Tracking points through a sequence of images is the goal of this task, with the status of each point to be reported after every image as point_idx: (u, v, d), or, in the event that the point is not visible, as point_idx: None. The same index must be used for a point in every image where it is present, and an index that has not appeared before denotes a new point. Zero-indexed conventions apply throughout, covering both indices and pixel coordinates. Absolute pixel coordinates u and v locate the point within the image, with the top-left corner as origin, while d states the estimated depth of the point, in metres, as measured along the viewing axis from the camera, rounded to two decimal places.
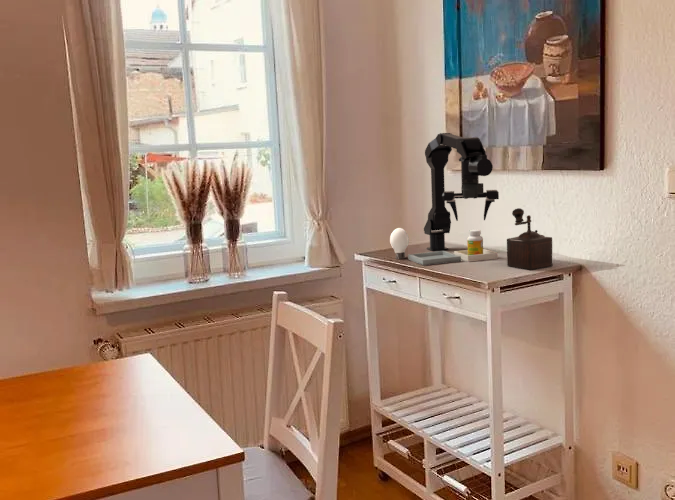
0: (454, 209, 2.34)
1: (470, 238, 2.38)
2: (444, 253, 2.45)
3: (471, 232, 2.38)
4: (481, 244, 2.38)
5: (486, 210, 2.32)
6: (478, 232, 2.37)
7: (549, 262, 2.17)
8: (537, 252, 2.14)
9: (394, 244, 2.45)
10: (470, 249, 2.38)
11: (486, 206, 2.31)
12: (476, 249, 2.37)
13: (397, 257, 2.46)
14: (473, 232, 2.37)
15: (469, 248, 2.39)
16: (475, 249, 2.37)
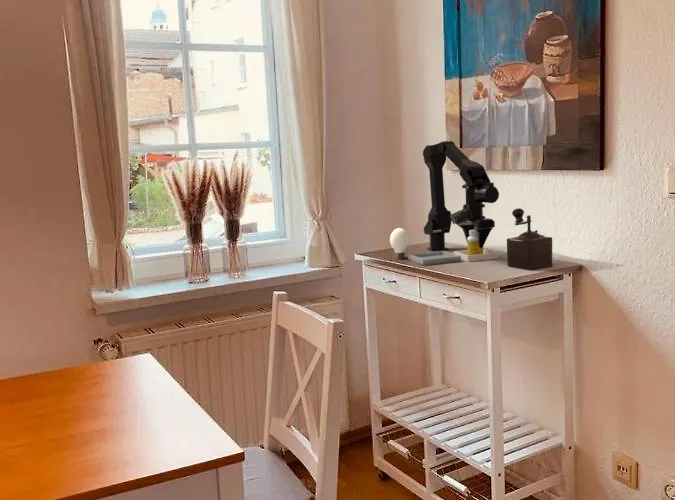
0: (464, 232, 2.44)
1: (470, 238, 2.38)
2: (444, 253, 2.45)
3: (471, 232, 2.38)
4: None
5: (478, 238, 2.34)
6: None
7: (549, 262, 2.17)
8: (537, 252, 2.14)
9: (394, 244, 2.45)
10: (470, 249, 2.38)
11: (478, 234, 2.34)
12: (476, 249, 2.37)
13: (397, 257, 2.46)
14: (473, 232, 2.37)
15: (469, 248, 2.39)
16: (475, 249, 2.37)
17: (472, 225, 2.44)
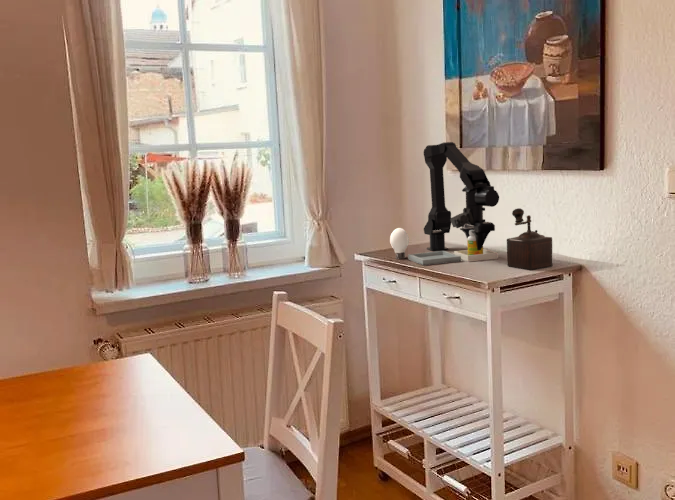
0: (467, 236, 2.42)
1: (470, 238, 2.38)
2: (444, 253, 2.45)
3: (471, 232, 2.38)
4: None
5: (476, 241, 2.36)
6: None
7: (549, 262, 2.17)
8: (537, 252, 2.14)
9: (394, 244, 2.45)
10: (470, 249, 2.38)
11: None
12: (476, 249, 2.37)
13: (397, 257, 2.46)
14: None
15: (469, 248, 2.39)
16: (475, 249, 2.37)
17: None
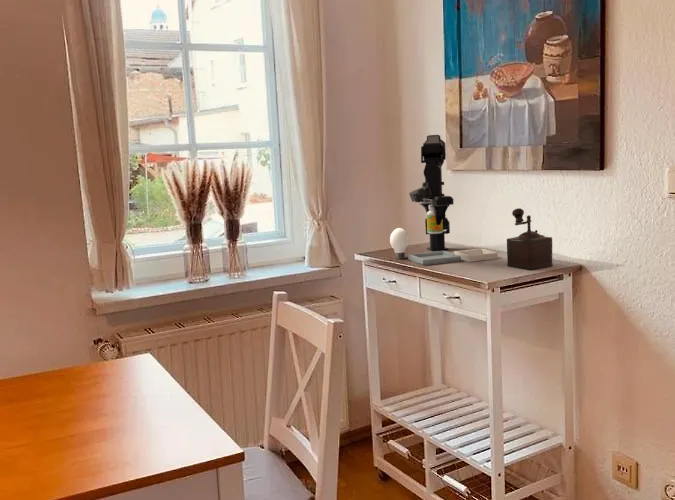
0: (426, 211, 2.40)
1: (429, 213, 2.35)
2: (444, 253, 2.45)
3: (430, 207, 2.35)
4: None
5: (435, 215, 2.33)
6: None
7: (549, 262, 2.17)
8: (537, 252, 2.14)
9: (394, 244, 2.45)
10: (430, 224, 2.36)
11: (434, 211, 2.33)
12: (436, 224, 2.35)
13: (397, 257, 2.46)
14: None
15: (428, 223, 2.36)
16: (435, 223, 2.35)
17: None
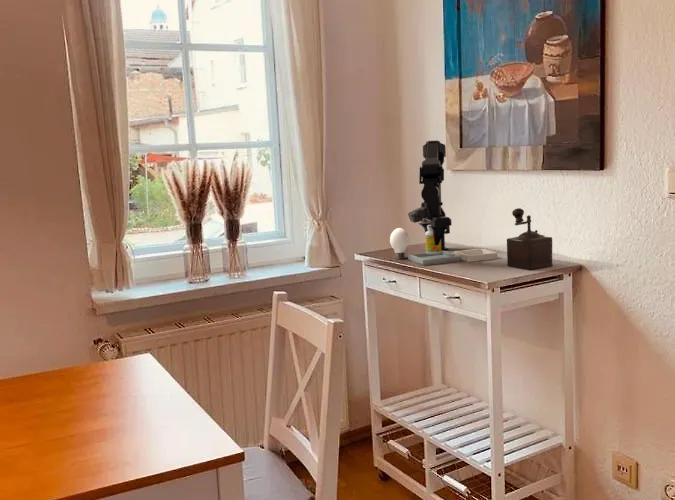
0: (425, 231, 2.41)
1: (428, 233, 2.37)
2: (444, 253, 2.45)
3: (429, 227, 2.37)
4: None
5: (434, 235, 2.35)
6: None
7: (549, 262, 2.17)
8: (537, 252, 2.14)
9: (394, 244, 2.45)
10: (428, 244, 2.37)
11: (433, 231, 2.34)
12: (434, 244, 2.36)
13: (397, 257, 2.46)
14: None
15: (427, 243, 2.37)
16: (433, 244, 2.36)
17: None
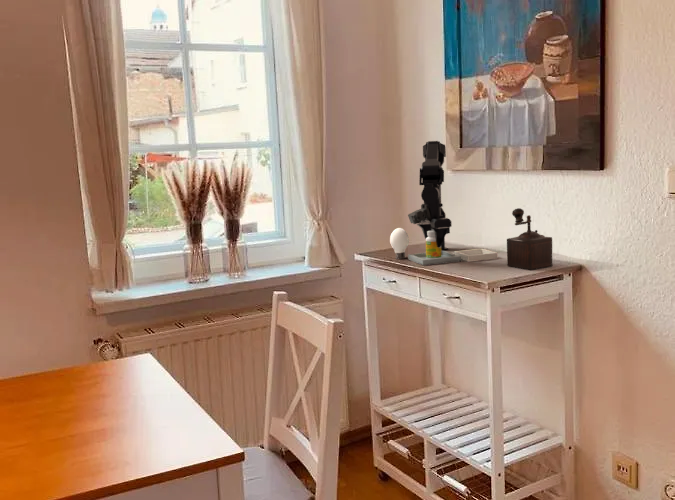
0: (423, 232, 2.43)
1: (428, 239, 2.37)
2: (444, 253, 2.45)
3: (429, 233, 2.37)
4: None
5: (436, 237, 2.33)
6: None
7: (549, 262, 2.17)
8: (537, 252, 2.14)
9: (394, 244, 2.45)
10: (428, 250, 2.37)
11: (435, 233, 2.33)
12: (434, 250, 2.36)
13: (397, 257, 2.46)
14: (431, 233, 2.36)
15: (427, 249, 2.38)
16: (433, 250, 2.36)
17: None
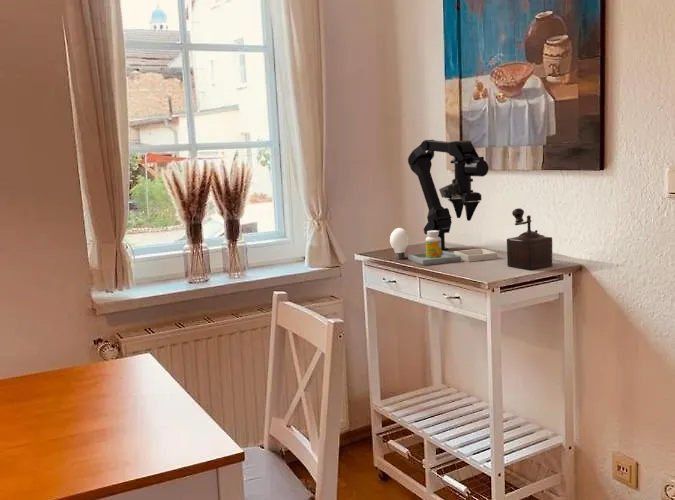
0: (454, 207, 2.52)
1: (428, 239, 2.37)
2: (444, 253, 2.45)
3: (429, 233, 2.37)
4: (439, 245, 2.37)
5: (466, 211, 2.41)
6: (436, 233, 2.36)
7: (549, 262, 2.17)
8: (537, 252, 2.14)
9: (394, 244, 2.45)
10: (428, 250, 2.37)
11: (465, 207, 2.41)
12: (434, 250, 2.36)
13: (397, 257, 2.46)
14: (431, 233, 2.36)
15: (427, 249, 2.38)
16: (433, 250, 2.36)
17: (462, 199, 2.52)
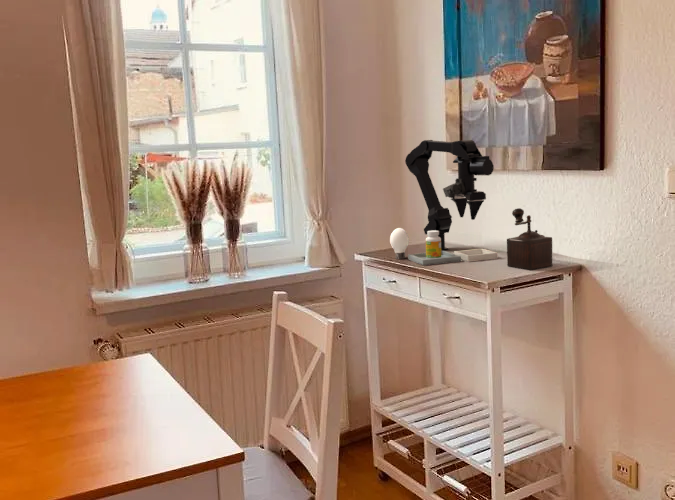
0: (457, 206, 2.53)
1: (428, 239, 2.37)
2: (444, 253, 2.45)
3: (429, 233, 2.37)
4: (439, 245, 2.37)
5: (470, 210, 2.43)
6: (436, 233, 2.36)
7: (549, 262, 2.17)
8: (537, 252, 2.14)
9: (394, 244, 2.45)
10: (428, 250, 2.37)
11: (469, 206, 2.42)
12: (434, 250, 2.36)
13: (397, 257, 2.46)
14: (431, 233, 2.36)
15: (427, 249, 2.38)
16: (433, 250, 2.36)
17: (464, 199, 2.53)
